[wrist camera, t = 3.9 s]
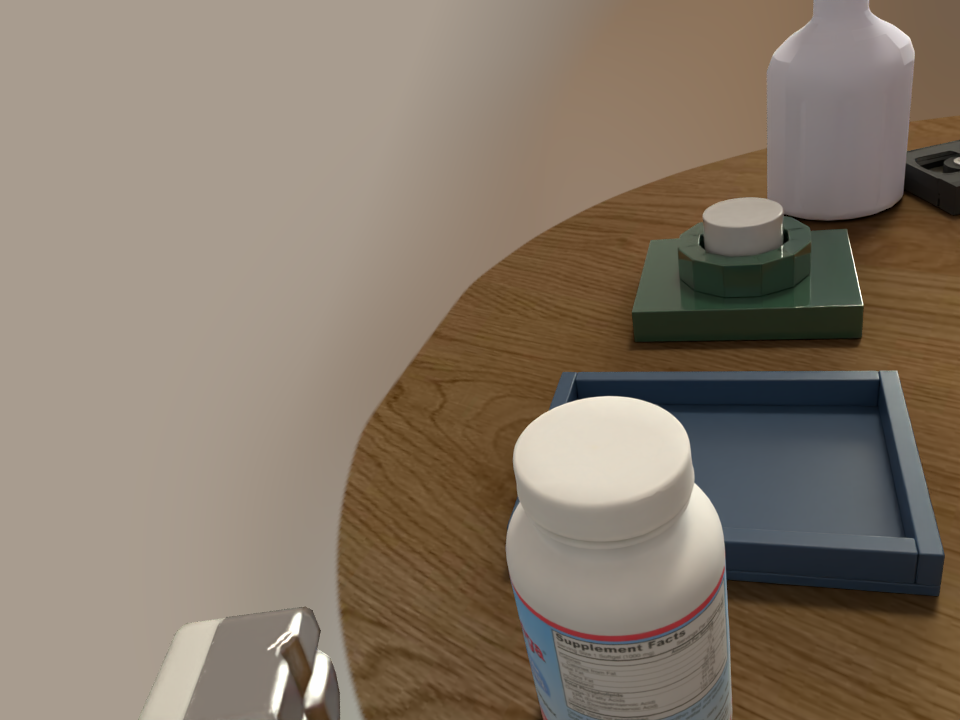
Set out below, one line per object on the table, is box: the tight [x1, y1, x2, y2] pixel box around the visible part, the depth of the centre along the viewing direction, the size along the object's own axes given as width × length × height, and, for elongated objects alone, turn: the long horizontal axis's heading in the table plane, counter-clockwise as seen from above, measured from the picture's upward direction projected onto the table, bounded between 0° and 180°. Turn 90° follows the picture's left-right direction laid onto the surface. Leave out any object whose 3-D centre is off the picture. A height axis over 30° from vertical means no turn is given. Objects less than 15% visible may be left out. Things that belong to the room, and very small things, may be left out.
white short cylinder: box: [703, 198, 784, 256], centre depth 46 cm, size 4×4×2 cm
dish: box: [507, 371, 945, 596], centre depth 35 cm, size 16×12×2 cm
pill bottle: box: [506, 396, 732, 720], centre depth 24 cm, size 6×6×11 cm
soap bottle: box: [767, 0, 915, 221], centre depth 53 cm, size 9×9×25 cm
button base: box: [632, 216, 864, 342], centre depth 48 cm, size 12×10×4 cm
